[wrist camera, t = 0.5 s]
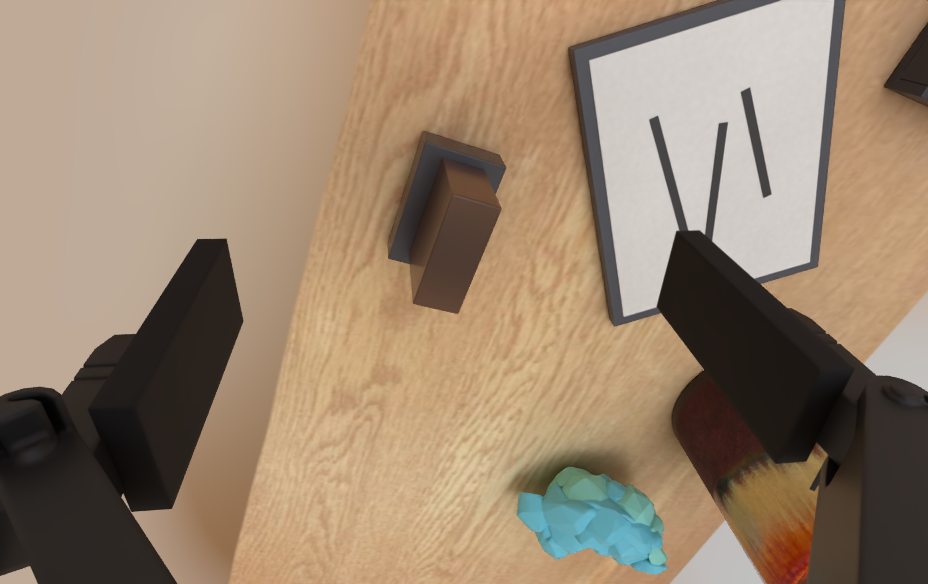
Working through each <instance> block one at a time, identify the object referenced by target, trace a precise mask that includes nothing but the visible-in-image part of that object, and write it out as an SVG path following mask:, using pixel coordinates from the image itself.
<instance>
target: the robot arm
mask: <svg viewBox="0 0 928 584" xmlns="http://www.w3.org/2000/svg"><path fill="white" fill-rule="evenodd" d="M656 307H657V308H658V309H659V311H660V312H661V313H662V315H663V316H664V317H665V319H666V320H667V321H668V323H669V324H670V325H671V326H672V328H673V329H674V330H675V332H676V333H677V334H678V336H679V337H680V338H681V340H682V341H683V342H684V344H685V345H686V346H687V348H688V349H689V350H690V352H691V353H692V354H693V355H694V357H695V358H696V359H697V361H698V362H699V363H700V365H701V366H702V367H703V369H704V370H705V371H706V373H707V374H708V375H709V377H710V378H711V379H712V380H713V382H714V383H715V384H716V386H717V387H718V388H719V390H720V391H721V392H722V394H723V395H724V396H725V398H726V399H727V400H728V402H729V403H730V404H731V406H732V407H733V408H734V409H735V411H736V412H737V413H738V415H739V416H740V417H741V419H742V420H743V421H744V423H745V424H746V425H747V427H748V428H749V429H750V431H751V432H752V433H753V435H754V436H755V437H756V438H757V440H758V441H759V442H760V444H761V445H762V446H763V448H764V449H765V450H766V452H767V453H768V454H769V456H770V457H771V458H772V460H773V461H774V462H775V464H782V463H795V462H806V461H807V460H808V458H809V456H810V454H811V452H812V450H813V448H814V446H815V444H816V442H817V443H818V444H819V445H820V446H821V448H822V449H823V450H824V451H825V452H826V453H827V454H828V455H827V457H826V459H825V461H824V463H823V465H822V466H821V468H820V470H819V472H818V474H817V476H816V477H815V479H814V481H813V483H812V485H811V487H810V488H809V489H810V490H812V491H815V490H816V488H817V487H818V486H819V489H818V497H817V505H816V512H815V520H814V528H813V536H812V544H811V551H810V559H809V567H808V575H807V583H806V584H928V392H927V391H925V390H924V389H922V388H921V387H919V386H917V385H915V384H913V383H910V382H908V381H906V380H903V379H900V378H896V377H891V376H876V375H875V374H874V373H873V372H872V371H871V370H869V369H868V368H867V367H866V366H865V365H864V364H863V363H861V362H860V361H859V360H858V359H857V358H856V357H854V356H853V355H852V354H851V353H850V352H849V351H848V350H846V349H845V348H844V347H843V346H842V345H841V344H837V341H836V340H835V339H834V338H833V337H831V336H830V335H829V334H826V333H825V332H826V331H825V330H823V329H822V328H821V327H820V326H819V325H818V324H816V323H815V322H814V321H813V320H812V319H810V318H809V317H807V316H805V315H803V314H801V313H799V312H797V311H796V310H794V309H792V308H786V307H785V306H784V305H783V304H782V303H781V302H780V301H778V300H777V299H776V298H775V297H774V296H773V295H772V294H771V293H769V292H768V291H767V290H766V289H765V288H764V287H763V286H762V285H761V284H759V283H758V282H757V281H756V280H755V279H754V278H753V277H752V276H750V275H749V274H748V273H747V272H746V271H745V270H744V269H743V268H742V267H740V266H739V265H738V264H737V263H736V262H735V261H734V260H733V259H731V258H730V257H729V256H728V255H727V254H726V253H725V252H724V251H722V250H721V249H720V248H719V247H718V246H717V245H716V244H715V243H714V242H712V241H711V240H710V239H709V238H708V237H707V236H706V235H705V234H703V233H702V232H701V231H700V230H686V231H676V233H675V237H674V241H673V245H672V249H671V253H670V256H669V260H668V264H667V268H666V272H665V275H664V279H663V283H662V287H661V291H660V294H659V298H658V302H657V306H656ZM242 323H243V317H242V312H241V307H240V302H239V297H238V293H237V288H236V283H235V278H234V273H233V268H232V263H231V258H230V253H229V249H228V244H227V239H197V241H196V242H195V244H194V245H193V247H192V248H191V250H190V252H189V253H188V254H187V256H186V257H185V259H184V261H183V262H182V264H181V265H180V267H179V268H178V270H177V271H176V273H175V274H174V276H173V278H172V279H171V281H170V282H169V284H168V285H167V287H166V288H165V290H164V291H163V293H162V295H161V296H160V298H159V299H158V301H157V303H156V304H155V305H154V307H153V309H152V310H151V312H150V313H149V315H148V316H147V318H146V319H145V321H144V322H143V324H142V326H141V327H140V329H139V330H138V332H137V333H136V334H125V335H124V334H123V335H114V336H112V337H111V338H109V339H108V340H107V341H105V342H104V343H103V344H101V345H100V346H99V347H97V348H96V349H95V350H94V351H93V352H92V354H91V355H90V357H89V358H88V359H87V361H86V362H85V363H84V367H83V368H81V369H80V370H79V372H78V373H77V374H76V376H75V377H74V381H71V383H70V384H69V385H68V387H67V388H66V390H65V391H64V392H63V394H62V395H61V394H60V393H58V392H57V391H55V390H54V389H51V388H44V387H33V388H24V389H20V390H17V391H14V392H10V393H7V394H4V395H2V396H0V576H1V575H4V574H7V573H10V572H13V571H16V570H19V569H22V568H25V567H28V566H30V567H31V569H32V571H33V573H34V576H35V578H36V580H37V582H38V584H177V582H176V581H175V579H174V578H173V576H172V575H171V573H170V572H169V570H168V569H167V567H166V565H165V564H164V562H163V561H162V559H161V558H160V556H159V555H158V553H157V552H156V550H155V549H154V547H153V546H152V544H151V542H150V541H149V540H148V538H147V537H146V535H145V533H144V532H143V530H142V529H141V527H140V526H139V524H138V523H137V521H136V520H135V518H134V516H133V515H132V513H131V512H135V511H147V510H148V511H149V510H162V509H172V507H173V505H174V502H175V500H176V497H177V494H178V492H179V489H180V486H181V484H182V481H183V479H184V475H185V473H186V471H187V468H188V465H189V463H190V460H191V458H192V455H193V452H194V450H195V447H196V444H197V442H198V439H199V437H200V434H201V431H202V429H203V426H204V423H205V421H206V418H207V416H208V413H209V410H210V407H211V405H212V402H213V400H214V397H215V394H216V392H217V389H218V387H219V384H220V381H221V379H222V376H223V373H224V371H225V368H226V365H227V363H228V360H229V357H230V355H231V352H232V349H233V347H234V345H235V342H236V339H237V337H238V334H239V331H240V329H241V326H242ZM123 493H124V496H125V498H126V500H127V503H128V505H129V507H130V510H131V512H130V510H129V509H128V507H127V506H126V504H125V503H124V501H123V499H122V498H121V497H122V494H123Z"/></svg>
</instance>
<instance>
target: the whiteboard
mask: <svg viewBox="0 0 928 584" xmlns="http://www.w3.org/2000/svg"><path fill="white" fill-rule="evenodd" d="M844 9H845V0H718V1H715V2H712V3H709V4H705V5H702V6H699V7H696V8H693V9H690V10H686V11H683V12H680V13H677V14H674V15H670V16H667V17H664V18H661V19H658V20H655V21H651V22H648V23H645V24H642V25H639V26H635V27H632V28H629V29H626V30H623V31H619V32H616V33H613V34H610V35H607V36H604V37H600V38H597V39H594V40H591V41H588V42H584V43H581V44H578V45H575V46H572V47H569V55H570V61H571V68H572V75H573V81H574V88H575V94H576V101H577V107H578V114H579V120H580V127H581V133H582V140H583V147H584V153H585V160H586V166H587V173H588V179H589V186H590V192H591V199H592V205H593V212H594V219H595V225H596V232H597V238H598V245H599V251H600V258H601V264H602V271H603V278H604V284H605V291H606V297H607V304H608V310H609V317H610V320H611V322H612V324H613V325H614V326H618V325H622V324H625V323H628V322H632V321H635V320H639V319H642V318H645V317H649V316H652V315H656V314H659V313H661V312H660V311H659V309H658V308H657V307H656V306H657V302H658V298H659V294H660V291H661V287H662V283H663V279H664V275H665V272H666V268H667V264H668V260H669V256H670V253H671V249H672V245H673V241H674V237H675V233H676V231H686V230H700V231H701V232H702V233H703V234H705V235H706V236H707V237H708V238H709V239H710V240H711V241H712V242H714V243H715V244H716V245H717V246H718V247H719V248H720V249H721V250H722V251H724V252H725V253H726V254H727V255H728V256H729V257H730V258H731V259H733V260H734V261H735V262H736V263H737V264H738V265H739V266H740V267H742V268H743V269H744V270H745V271H746V272H747V273H748V274H749V275H750V276H752V277H753V278H754V279H755V280H756V281H757V282H758V283H759V284H761V283H765V282H768V281H772V280H775V279H778V278H782V277H785V276H789V275H792V274H796V273H799V272H802V271H806V270H809V269H813V268H816V267H818V261H819V251H820V242H821V232H822V222H823V213H824V203H825V193H826V184H827V174H828V164H829V155H830V145H831V135H832V126H833V116H834V106H835V97H836V87H837V77H838V67H839V58H840V48H841V38H842V29H843V19H844Z"/></svg>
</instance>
